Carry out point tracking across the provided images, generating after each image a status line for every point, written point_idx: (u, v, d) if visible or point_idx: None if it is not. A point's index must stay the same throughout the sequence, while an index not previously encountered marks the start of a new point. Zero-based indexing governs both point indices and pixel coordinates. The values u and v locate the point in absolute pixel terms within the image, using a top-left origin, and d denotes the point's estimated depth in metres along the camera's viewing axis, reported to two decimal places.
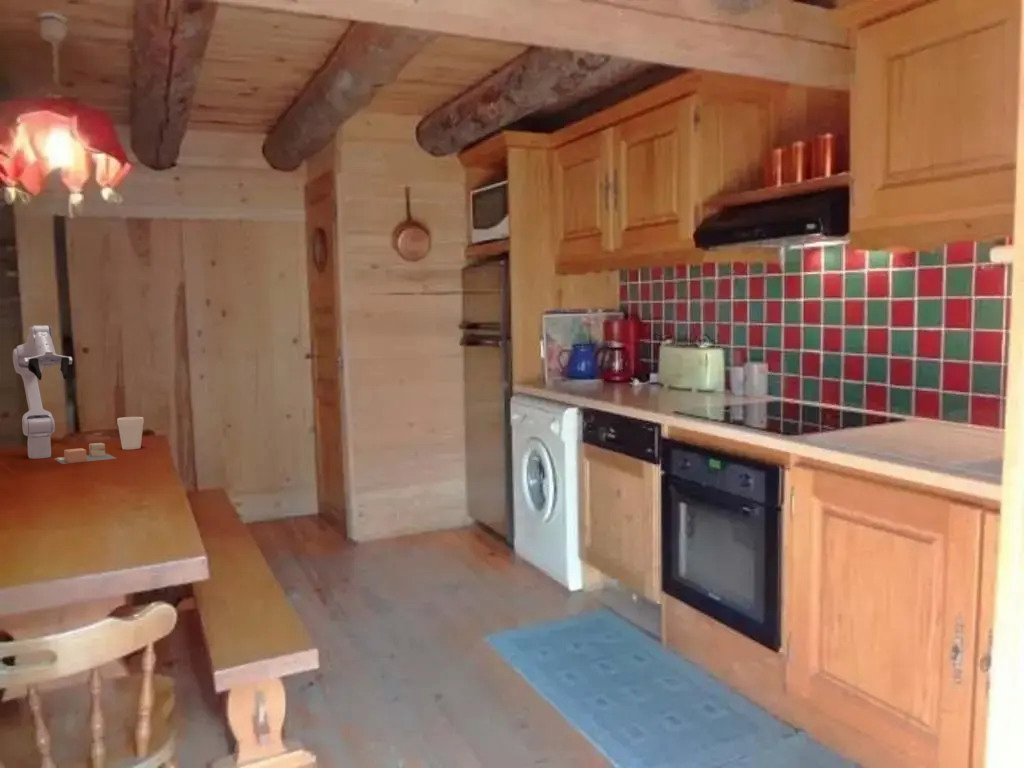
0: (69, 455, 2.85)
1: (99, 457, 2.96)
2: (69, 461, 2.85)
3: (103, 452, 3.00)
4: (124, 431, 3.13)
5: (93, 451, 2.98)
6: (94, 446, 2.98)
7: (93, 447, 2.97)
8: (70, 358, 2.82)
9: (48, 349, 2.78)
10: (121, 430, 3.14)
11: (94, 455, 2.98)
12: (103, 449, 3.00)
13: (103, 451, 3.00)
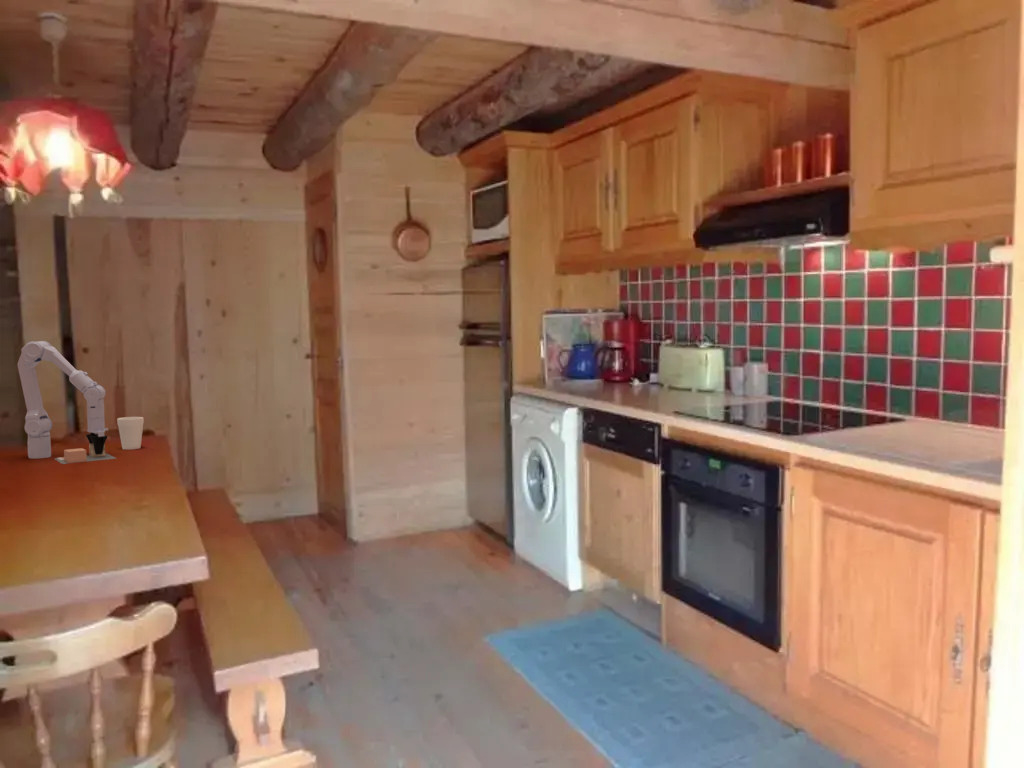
0: (69, 455, 2.85)
1: (99, 457, 2.96)
2: (69, 461, 2.85)
3: (103, 452, 3.00)
4: (124, 431, 3.13)
5: (93, 451, 2.98)
6: None
7: (93, 447, 2.97)
8: None
9: None
10: (121, 430, 3.14)
11: (94, 455, 2.98)
12: (103, 449, 3.00)
13: (103, 451, 3.00)
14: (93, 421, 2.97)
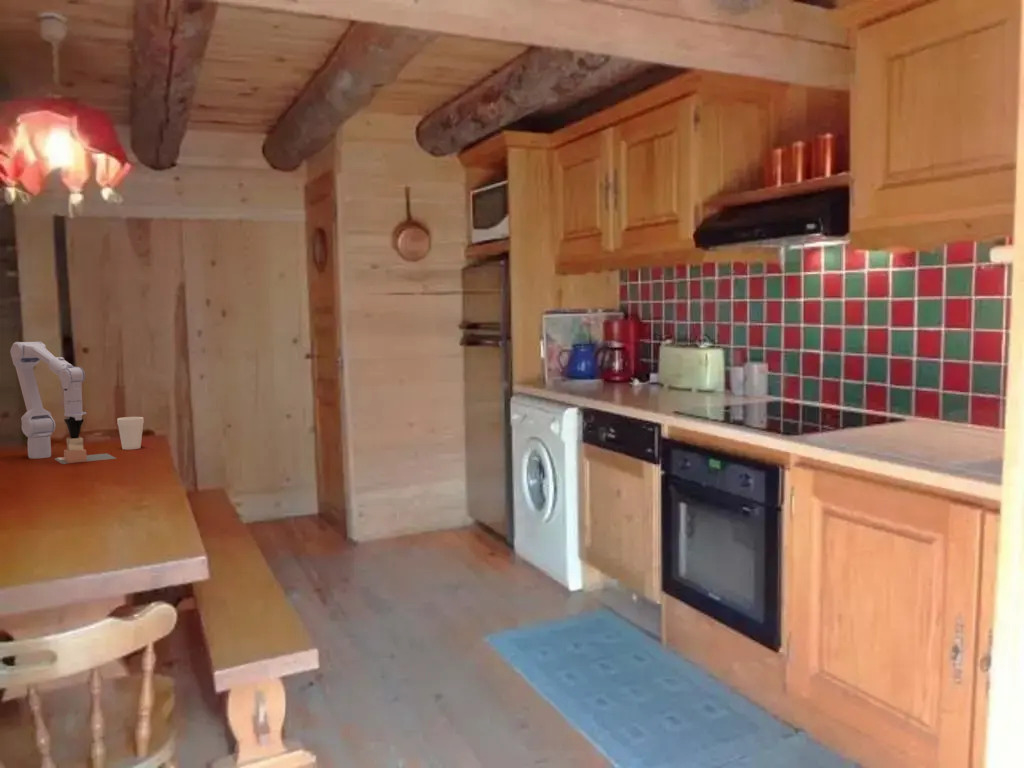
0: (69, 455, 2.85)
1: (99, 457, 2.96)
2: (69, 461, 2.85)
3: (81, 446, 2.88)
4: (124, 431, 3.13)
5: (70, 445, 2.86)
6: (72, 440, 2.86)
7: (70, 441, 2.86)
8: None
9: None
10: (121, 430, 3.14)
11: (72, 449, 2.86)
12: (81, 443, 2.88)
13: (81, 445, 2.88)
14: (70, 404, 2.84)
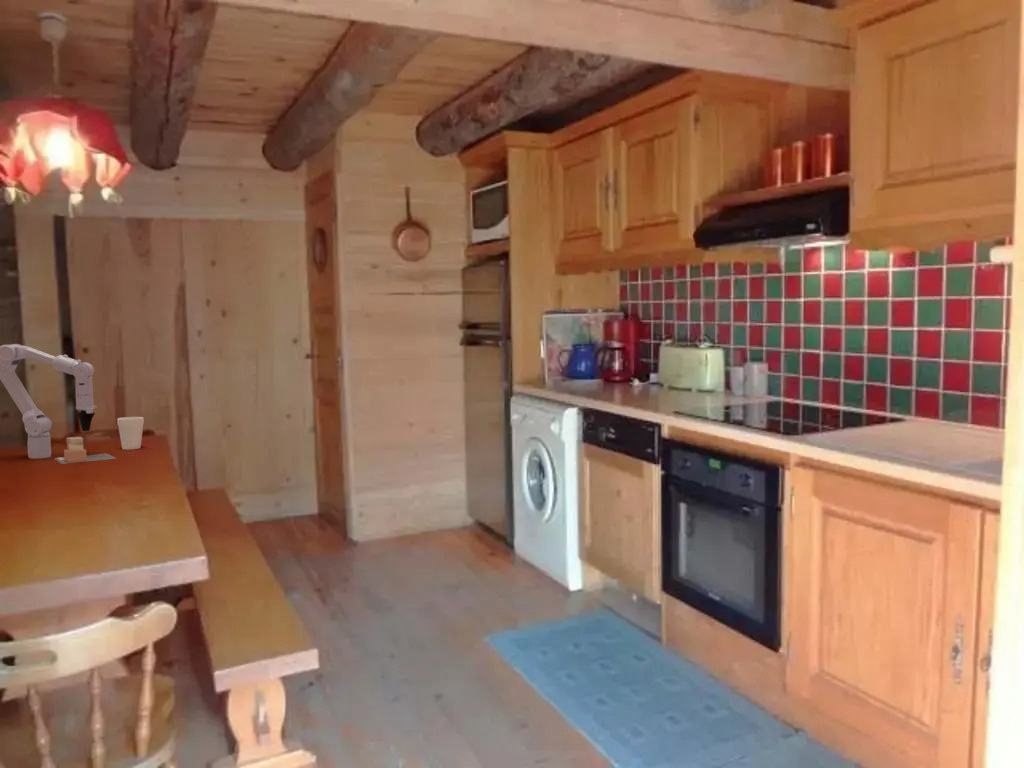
0: (69, 455, 2.85)
1: (99, 457, 2.96)
2: (69, 461, 2.85)
3: (81, 446, 2.88)
4: (124, 431, 3.13)
5: (70, 445, 2.86)
6: (72, 440, 2.86)
7: (70, 441, 2.86)
8: None
9: None
10: (121, 430, 3.14)
11: (72, 449, 2.86)
12: (81, 443, 2.88)
13: (81, 445, 2.88)
14: (82, 398, 2.96)
